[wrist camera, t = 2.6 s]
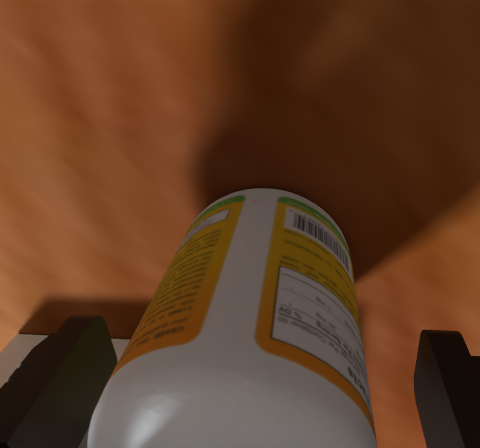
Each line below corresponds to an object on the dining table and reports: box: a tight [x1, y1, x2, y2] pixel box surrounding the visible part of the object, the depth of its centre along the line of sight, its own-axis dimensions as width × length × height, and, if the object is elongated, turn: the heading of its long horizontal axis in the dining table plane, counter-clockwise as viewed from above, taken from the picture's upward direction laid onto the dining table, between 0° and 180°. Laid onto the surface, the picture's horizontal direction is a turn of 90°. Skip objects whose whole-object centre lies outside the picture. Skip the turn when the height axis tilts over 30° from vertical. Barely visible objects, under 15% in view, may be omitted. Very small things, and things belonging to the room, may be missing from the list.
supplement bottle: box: [87, 188, 377, 448], centre depth 9 cm, size 5×5×10 cm
